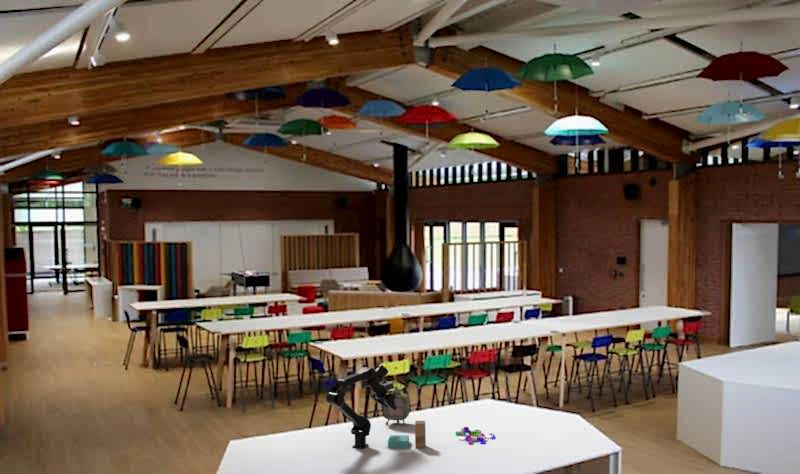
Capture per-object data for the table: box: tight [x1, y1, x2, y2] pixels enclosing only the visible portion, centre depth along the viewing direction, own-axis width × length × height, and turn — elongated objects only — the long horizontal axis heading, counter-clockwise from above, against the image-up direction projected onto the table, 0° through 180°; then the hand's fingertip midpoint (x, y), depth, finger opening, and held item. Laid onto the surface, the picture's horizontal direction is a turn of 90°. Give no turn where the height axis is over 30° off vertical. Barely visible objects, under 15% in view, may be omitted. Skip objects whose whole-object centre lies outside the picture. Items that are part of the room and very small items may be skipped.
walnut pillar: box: [414, 420, 427, 450], centre depth 354 cm, size 5×5×13 cm
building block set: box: [454, 426, 496, 445], centre depth 369 cm, size 25×21×4 cm
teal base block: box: [387, 434, 410, 449], centre depth 357 cm, size 10×10×4 cm
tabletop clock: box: [382, 381, 411, 427], centre depth 396 cm, size 14×9×25 cm, turn 73°
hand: (391, 408), depth 368 cm, fingers open, 9 cm apart
